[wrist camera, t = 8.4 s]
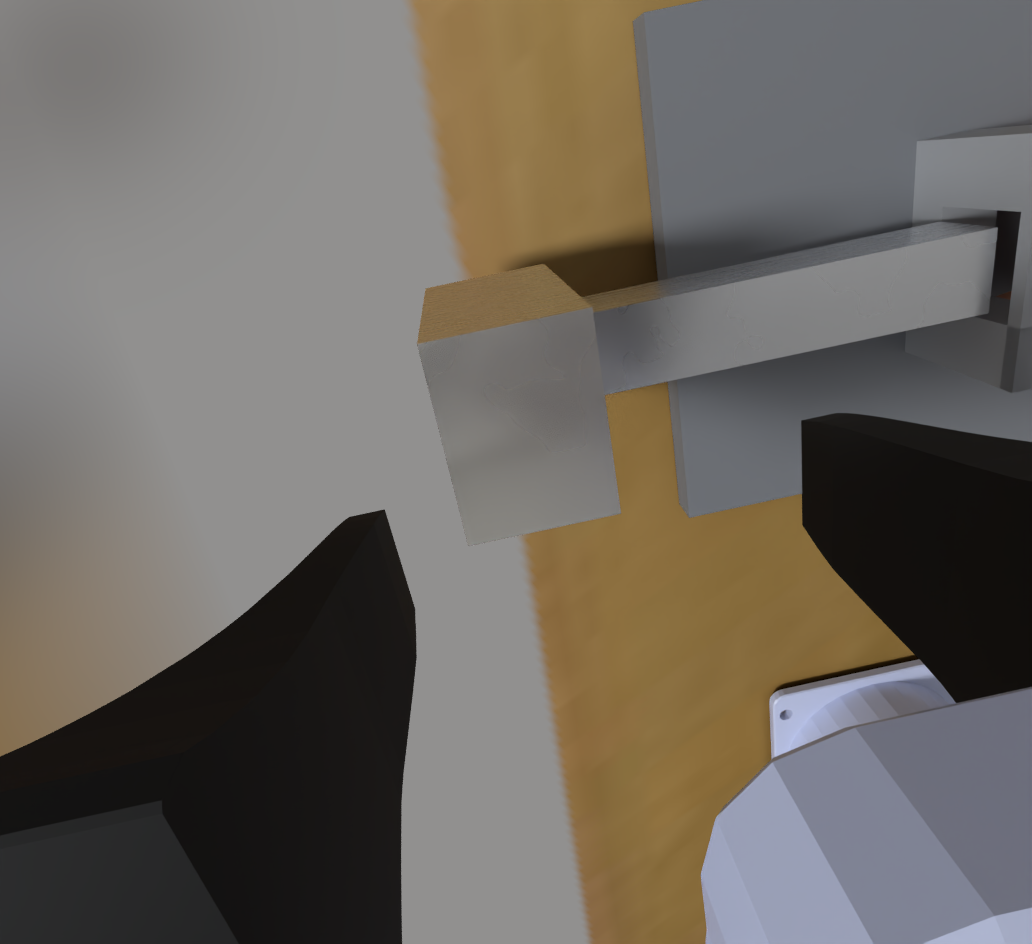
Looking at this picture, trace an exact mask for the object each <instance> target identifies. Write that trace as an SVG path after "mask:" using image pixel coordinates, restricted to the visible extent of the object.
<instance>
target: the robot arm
mask: <svg viewBox="0 0 1032 944" xmlns="http://www.w3.org/2000/svg"><path fill="white" fill-rule="evenodd" d="M801 446H802V521H803V526H804V528H805V529H806V531H807V532H808V534H809V535H810V537H811V538H812V540H813V542H814V543H815V545H816V546H817V548H818V549H819V550H820V552H821V553H822V555H823V556H824V557H825V559H826V560H827V561H828V563H829V564H830V566H831V567H832V568H833V569H834V570H835V572H836V573H837V574H838V575H839V576H840V577H841V578H842V579H843V580H844V581H845V582H846V583H847V584H848V586H849V587H850V588H851V589H852V590H853V591H854V592H855V593H856V594H857V595H858V596H859V597H860V598H861V599H862V600H863V601H864V602H865V603H866V605H867V606H868V607H869V608H870V609H871V610H872V611H873V612H874V613H875V614H876V615H877V616H878V617H879V618H880V619H881V620H882V621H883V622H884V623H885V624H886V625H887V626H888V627H889V628H890V629H891V630H892V631H893V632H894V633H895V635H896V636H897V637H898V638H899V639H900V640H901V641H902V642H903V643H904V644H905V645H906V646H907V647H908V648H909V649H910V650H911V651H912V652H913V653H914V654H915V655H916V656H917V657H918V658H919V659H918V660H913V661H908V662H904V663H899V664H895V665H890V666H886V667H881V668H877V669H872V670H867V671H863V672H858V673H854V674H849V675H845V676H840V677H836V678H831V679H826V680H822V681H817V682H813V683H808V684H804V685H799V686H795V687H790V688H785V689H781V690H778V691H776V692H775V693H773V695H772V696H771V698H770V729H771V755H772V760H771V761H770V762H769V763H768V764H767V765H765V766H764V767H763V768H762V769H761V770H760V771H759V772H758V773H757V774H756V775H755V776H754V777H753V778H752V779H751V780H750V781H749V782H748V783H747V784H746V785H745V786H744V787H743V788H742V789H741V790H740V791H739V792H738V793H737V794H736V795H735V796H734V797H733V798H732V799H731V800H730V801H729V802H728V803H727V804H726V805H725V806H724V807H723V809H722V810H721V811H720V813H719V814H718V816H717V817H716V820H715V823H714V827H713V831H712V835H711V838H710V842H709V846H708V850H707V853H706V857H705V861H704V865H703V868H702V872H701V881H702V890H703V899H704V907H705V916H706V925H707V934H706V944H1032V442H1029V441H1021V440H1014V439H1007V438H1000V437H993V436H987V435H981V434H975V433H969V432H963V431H957V430H951V429H946V428H940V427H934V426H929V425H923V424H918V423H912V422H907V421H901V420H895V419H890V418H883V417H877V416H870V415H862V414H852V413H834V414H829V415H824V416H820V417H815V418H810V419H806V420H801ZM415 667H416V624H415V607H414V604H413V601H412V597H411V594H410V591H409V588H408V584H407V581H406V578H405V575H404V572H403V568H402V565H401V562H400V558H399V555H398V552H397V549H396V545H395V542H394V539H393V536H392V533H391V529H390V526H389V522H388V519H387V516H386V513H385V510H380V511H376V512H371V513H366V514H362V515H357V516H352V517H349V518H347V519H346V520H345V521H343V522H342V523H341V524H340V525H339V526H338V527H337V528H335V529H334V530H333V531H332V532H331V533H330V534H329V535H328V536H327V537H326V538H325V539H324V540H323V541H322V542H321V543H320V544H319V545H318V546H317V547H316V548H315V549H314V550H313V551H312V552H311V553H310V554H309V555H308V556H307V557H306V558H305V559H304V560H303V561H302V562H301V563H300V564H299V565H298V566H297V567H296V568H294V570H293V571H292V572H290V574H289V575H287V576H286V577H285V578H284V579H283V580H282V581H280V582H279V583H278V584H277V585H276V586H275V587H274V588H273V589H272V590H270V591H269V592H268V593H267V594H266V595H265V596H264V597H262V598H261V599H260V600H259V601H258V602H257V603H256V604H255V605H254V606H252V607H251V608H250V609H249V610H248V611H247V612H245V613H244V614H243V615H242V616H240V617H239V618H238V619H237V620H235V621H234V622H233V623H231V624H230V625H229V626H228V627H226V628H225V629H224V630H222V631H221V632H220V633H218V634H217V635H215V636H214V637H213V638H211V639H210V640H209V641H208V642H206V643H204V644H203V645H202V646H200V647H199V648H198V649H196V650H195V651H193V652H192V653H190V654H189V655H187V656H186V657H184V658H183V659H181V660H179V661H178V662H176V663H175V664H173V665H171V666H170V667H168V668H166V669H165V670H163V671H162V672H160V673H158V674H157V675H155V676H154V677H152V678H150V679H149V680H147V681H146V682H144V683H143V684H141V685H139V686H138V687H136V688H134V689H133V690H131V691H129V692H128V693H126V694H124V695H122V696H121V697H119V698H117V699H115V700H114V701H112V702H110V703H108V704H107V705H105V706H102V707H101V708H99V709H97V710H95V711H93V712H92V713H90V714H88V715H86V716H84V717H82V718H80V719H78V720H76V721H74V722H72V723H70V724H68V725H66V726H64V727H62V728H60V729H59V730H56V731H54V732H52V733H50V734H48V735H46V736H44V737H42V738H40V739H38V740H36V741H34V742H32V743H30V744H28V745H25V746H23V747H21V748H19V749H16V750H14V751H12V752H10V753H8V754H5V755H3V756H1V757H0V944H402V924H401V923H402V921H401V920H402V919H401V917H402V916H401V800H402V784H403V772H404V762H405V755H406V746H407V738H408V729H409V721H410V711H411V703H412V695H413V686H414V676H415ZM784 710H785V711H784ZM782 711H784V712H782ZM781 712H782V713H781Z"/></svg>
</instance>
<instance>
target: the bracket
mask: <svg viewBox="0 0 1032 944" xmlns="http://www.w3.org/2000/svg"><path fill="white" fill-rule="evenodd" d="M633 26H634V36H635V47H636V57H637V67H638V78H639V88H640V99H641V109H642V119H643V130H644V140H645V151H646V161H647V171H648V182H649V192H650V203H651V213H652V223H653V234H654V244H655V255H656V265H657V275H658V281H660V280H665V279H669V278H674V277H679V276H684V275H688V274H693V273H698V272H703V271H707V270H712V269H717V268H722V267H726V266H731V265H736V264H741V263H745V262H750V261H755V260H760V259H764V258H769V257H774V256H779V255H783V254H788V253H793V252H798V251H802V250H807V249H812V248H817V247H821V246H826V245H831V244H836V243H840V242H845V241H850V240H855V239H859V238H864V237H869V236H874V235H878V234H883V233H888V232H893V231H897V230H902V229H907V228H912V227H916V226H921V225H926V224H931V223H935V222H949V223H959V224H970V225H980V226H990V227H998V232H997V241H996V250H995V260H994V269H993V278H992V287H991V297H990V306H989V313H987V314H983V315H978V316H973V317H968V318H964V319H959V320H954V321H950V322H945V323H940V324H936V325H931V326H926V327H921V328H917V329H912V330H907V331H903V332H898V333H893V334H889V335H884V336H879V337H874V338H870V339H865V340H860V341H856V342H851V343H846V344H841V345H837V346H832V347H827V348H823V349H818V350H813V351H809V352H804V353H799V354H794V355H790V356H785V357H780V358H776V359H771V360H766V361H762V362H757V363H752V364H747V365H743V366H738V367H733V368H729V369H724V370H719V371H715V372H710V373H705V374H700V375H696V376H691V377H686V378H682V379H677V380H672V381H668V390H669V400H670V411H671V421H672V431H673V442H674V452H675V463H676V473H677V483H678V494H679V504H680V505H681V507H682V508H683V510H684V511H685V512H686V514H687V515H688V517H689V518H690V517H695V516H700V515H704V514H709V513H714V512H718V511H723V510H727V509H732V508H737V507H741V506H746V505H751V504H755V503H760V502H765V501H769V500H774V499H778V498H783V497H788V496H792V495H797V494H802V446H801V420H806V419H810V418H815V417H820V416H824V415H829V414H834V413H852V414H862V415H870V416H877V417H883V418H890V419H895V420H901V421H907V422H912V423H918V424H923V425H929V426H934V427H940V428H946V429H951V430H957V431H963V432H969V433H975V434H981V435H987V436H993V437H1000V438H1007V439H1014V440H1021V441H1029V442H1032V0H703V1H698V2H693V3H688V4H683V5H678V6H674V7H669V8H664V9H659V10H654V11H649V12H644V13H643V14H641V15H640V16H639V17H638V18H636V19H635V20H634V21H633ZM1009 291H1012V292H1011V300H1008V299H1004V298H999V297H995V296H998V295H1001V294H1004V293H1007V292H1009Z"/></svg>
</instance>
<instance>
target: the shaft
mask: <svg viewBox="0 0 1032 944" xmlns="http://www.w3.org/2000/svg"><path fill="white" fill-rule="evenodd" d="M997 232H998V227H990V226H980V225H970V224H959V223H949V222H935V223H931V224H926V225H921V226H916V227H912V228H907V229H902V230H897V231H893V232H888V233H883V234H878V235H874V236H869V237H864V238H859V239H855V240H850V241H845V242H840V243H836V244H831V245H826V246H821V247H817V248H812V249H807V250H802V251H798V252H793V253H788V254H783V255H779V256H774V257H769V258H764V259H760V260H755V261H750V262H745V263H741V264H736V265H731V266H726V267H722V268H717V269H712V270H707V271H703V272H698V273H693V274H688V275H684V276H679V277H674V278H669V279H665V280H660V281H655V282H650V283H646V284H641V285H636V286H631V287H627V288H622V289H617V290H612V291H608V292H603V293H598V294H593V295H589V296H584V297H580V296H579V295H578V294H577V293H576V292H575V291H574V290H572V289H571V288H570V287H569V286H568V285H567V284H566V283H565V282H564V281H562V280H561V279H560V278H559V277H558V276H557V275H556V274H555V273H553V272H552V271H551V270H550V269H549V268H548V267H547V266H546V265H545V264H540V265H535V266H530V267H525V268H521V269H516V270H511V271H506V272H501V273H497V274H492V275H487V276H482V277H478V278H473V279H468V280H463V281H459V282H454V283H449V284H445V285H440V286H435V287H430V288H426V289H425V296H424V303H423V308H422V315H421V321H420V328H419V335H418V341H417V346H418V350H419V354H420V357H421V362H422V366H423V370H424V373H425V378H426V381H427V385H428V389H429V393H430V397H431V401H432V405H433V409H434V413H435V416H436V421H437V424H438V429H439V433H440V437H441V440H442V444H443V448H444V452H445V456H446V460H447V464H448V468H449V472H450V476H451V480H452V484H453V488H454V492H455V496H456V500H457V504H458V508H459V512H460V515H461V519H462V523H463V527H464V531H465V535H466V539H467V543H468V546H472V545H477V544H481V543H486V542H491V541H495V540H500V539H505V538H509V537H514V536H519V535H523V534H528V533H533V532H537V531H542V530H546V529H551V528H556V527H560V526H565V525H570V524H574V523H579V522H584V521H588V520H593V519H598V518H602V517H607V516H612V515H616V514H621V511H620V503H619V496H618V489H617V482H616V475H615V467H614V460H613V453H612V446H611V439H610V431H609V424H608V417H607V410H606V403H605V395H606V394H611V393H616V392H621V391H625V390H630V389H635V388H639V387H644V386H649V385H653V384H658V383H663V382H668V381H672V380H677V379H682V378H686V377H691V376H696V375H700V374H705V373H710V372H715V371H719V370H724V369H729V368H733V367H738V366H743V365H747V364H752V363H757V362H762V361H766V360H771V359H776V358H780V357H785V356H790V355H794V354H799V353H804V352H809V351H813V350H818V349H823V348H827V347H832V346H837V345H841V344H846V343H851V342H856V341H860V340H865V339H870V338H874V337H879V336H884V335H889V334H893V333H898V332H903V331H907V330H912V329H917V328H921V327H926V326H931V325H936V324H940V323H945V322H950V321H954V320H959V319H964V318H968V317H973V316H978V315H983V314H987V313H989V306H990V297H991V287H992V278H993V269H994V260H995V250H996V241H997Z"/></svg>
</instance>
